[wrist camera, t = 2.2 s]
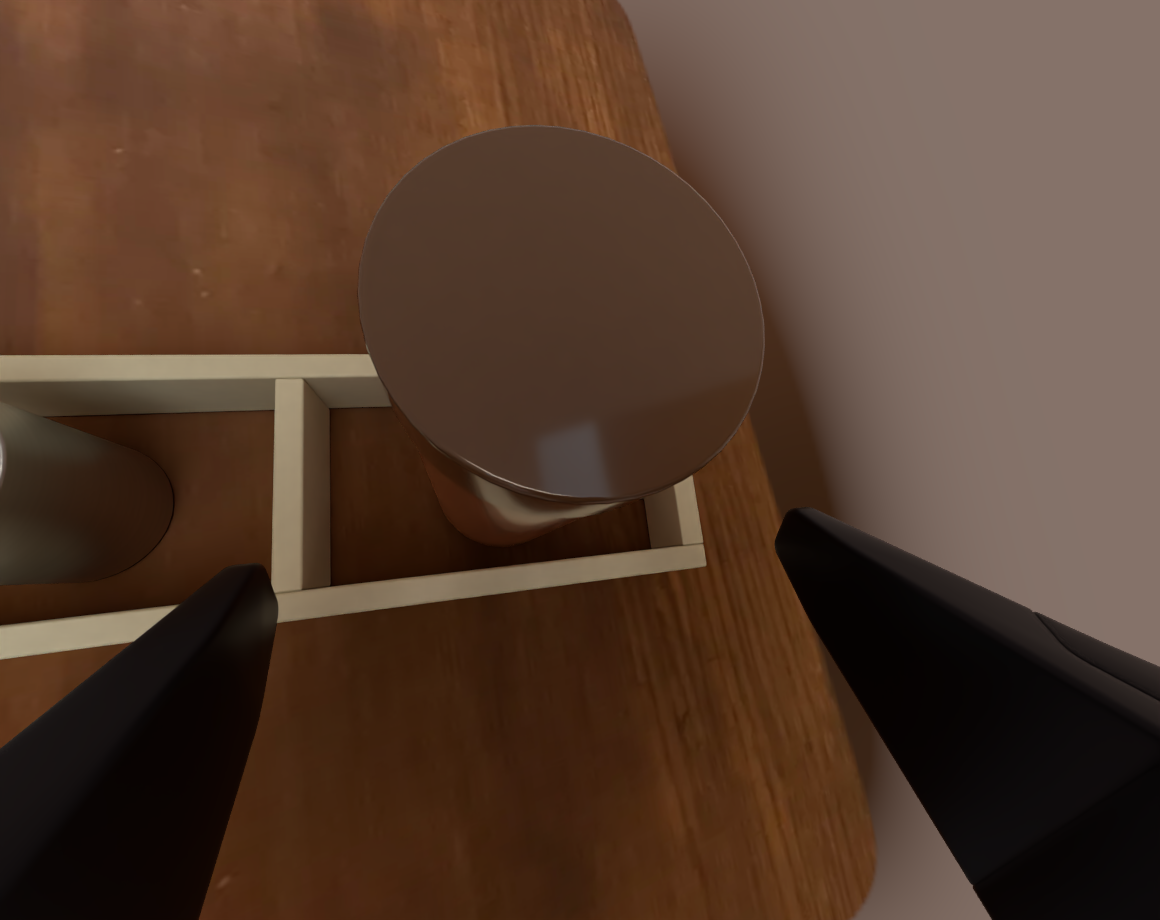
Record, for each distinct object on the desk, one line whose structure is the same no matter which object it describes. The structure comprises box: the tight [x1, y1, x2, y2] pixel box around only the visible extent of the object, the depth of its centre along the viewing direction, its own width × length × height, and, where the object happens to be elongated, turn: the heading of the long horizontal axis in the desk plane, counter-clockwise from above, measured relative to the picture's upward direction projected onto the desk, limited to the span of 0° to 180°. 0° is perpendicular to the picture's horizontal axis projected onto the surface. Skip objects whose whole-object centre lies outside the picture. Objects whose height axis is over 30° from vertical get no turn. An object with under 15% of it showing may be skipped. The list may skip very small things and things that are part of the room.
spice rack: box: [0, 354, 706, 659], centre depth 15 cm, size 26×8×3 cm, turn 97°
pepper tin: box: [0, 402, 173, 585], centre depth 12 cm, size 4×4×6 cm
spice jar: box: [357, 125, 765, 547], centre depth 12 cm, size 5×5×13 cm
